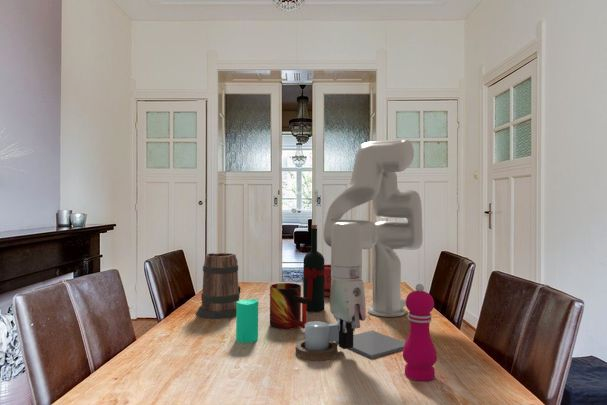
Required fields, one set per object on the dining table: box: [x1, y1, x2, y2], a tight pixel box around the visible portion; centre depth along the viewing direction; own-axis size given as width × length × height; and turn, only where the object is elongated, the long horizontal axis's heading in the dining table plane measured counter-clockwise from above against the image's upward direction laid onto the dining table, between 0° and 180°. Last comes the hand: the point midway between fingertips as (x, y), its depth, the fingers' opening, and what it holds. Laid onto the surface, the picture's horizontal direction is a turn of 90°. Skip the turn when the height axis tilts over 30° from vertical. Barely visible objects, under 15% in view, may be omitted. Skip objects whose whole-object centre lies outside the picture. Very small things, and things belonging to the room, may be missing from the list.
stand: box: [295, 339, 338, 362], centre depth 102 cm, size 10×10×2 cm
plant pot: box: [324, 264, 332, 297], centre depth 168 cm, size 13×13×12 cm
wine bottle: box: [302, 224, 326, 313], centre depth 143 cm, size 8×10×30 cm
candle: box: [235, 295, 259, 344], centre depth 112 cm, size 6×6×12 cm
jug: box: [304, 320, 340, 351], centre depth 103 cm, size 10×6×7 cm, turn 115°
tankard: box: [194, 252, 241, 320], centre depth 143 cm, size 24×17×20 cm
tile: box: [334, 330, 406, 360], centre depth 108 cm, size 14×14×1 cm
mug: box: [269, 282, 308, 330], centre depth 125 cm, size 10×14×12 cm
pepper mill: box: [402, 283, 438, 382], centre depth 89 cm, size 7×7×20 cm
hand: (346, 347), depth 99 cm, fingers closed
